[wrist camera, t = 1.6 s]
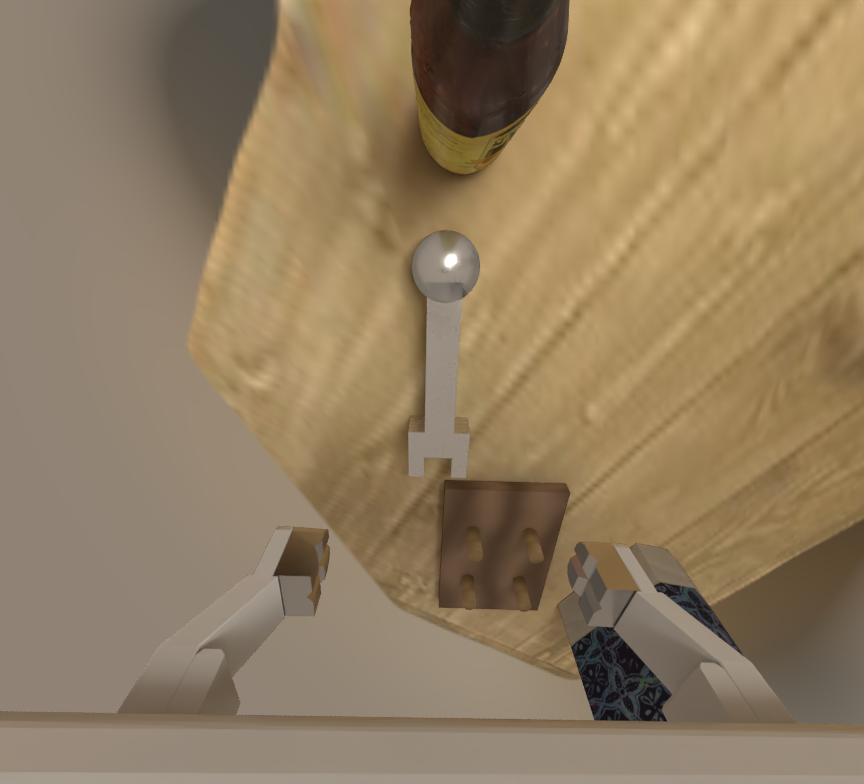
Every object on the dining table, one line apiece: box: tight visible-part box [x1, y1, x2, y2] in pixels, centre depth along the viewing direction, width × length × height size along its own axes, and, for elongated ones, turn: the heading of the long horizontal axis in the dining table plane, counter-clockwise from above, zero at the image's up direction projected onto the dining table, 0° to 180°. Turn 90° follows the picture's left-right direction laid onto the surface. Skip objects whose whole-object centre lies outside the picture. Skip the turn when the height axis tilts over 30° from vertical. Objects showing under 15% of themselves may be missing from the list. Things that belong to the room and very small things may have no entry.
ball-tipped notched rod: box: [408, 230, 480, 478], centre depth 31 cm, size 23×6×3 cm, turn 179°
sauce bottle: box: [410, 0, 569, 175], centre depth 15 cm, size 7×6×20 cm
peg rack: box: [439, 480, 570, 611], centre depth 41 cm, size 14×22×5 cm, turn 179°
